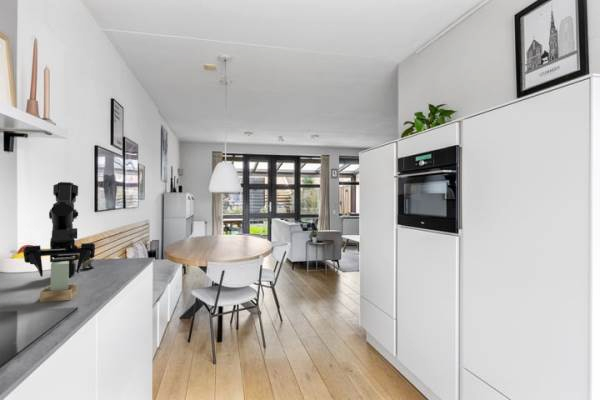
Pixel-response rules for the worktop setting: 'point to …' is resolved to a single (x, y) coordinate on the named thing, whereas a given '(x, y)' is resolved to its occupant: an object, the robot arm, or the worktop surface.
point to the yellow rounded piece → (88, 263)
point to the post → (59, 276)
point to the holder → (58, 294)
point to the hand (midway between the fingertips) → (60, 274)
